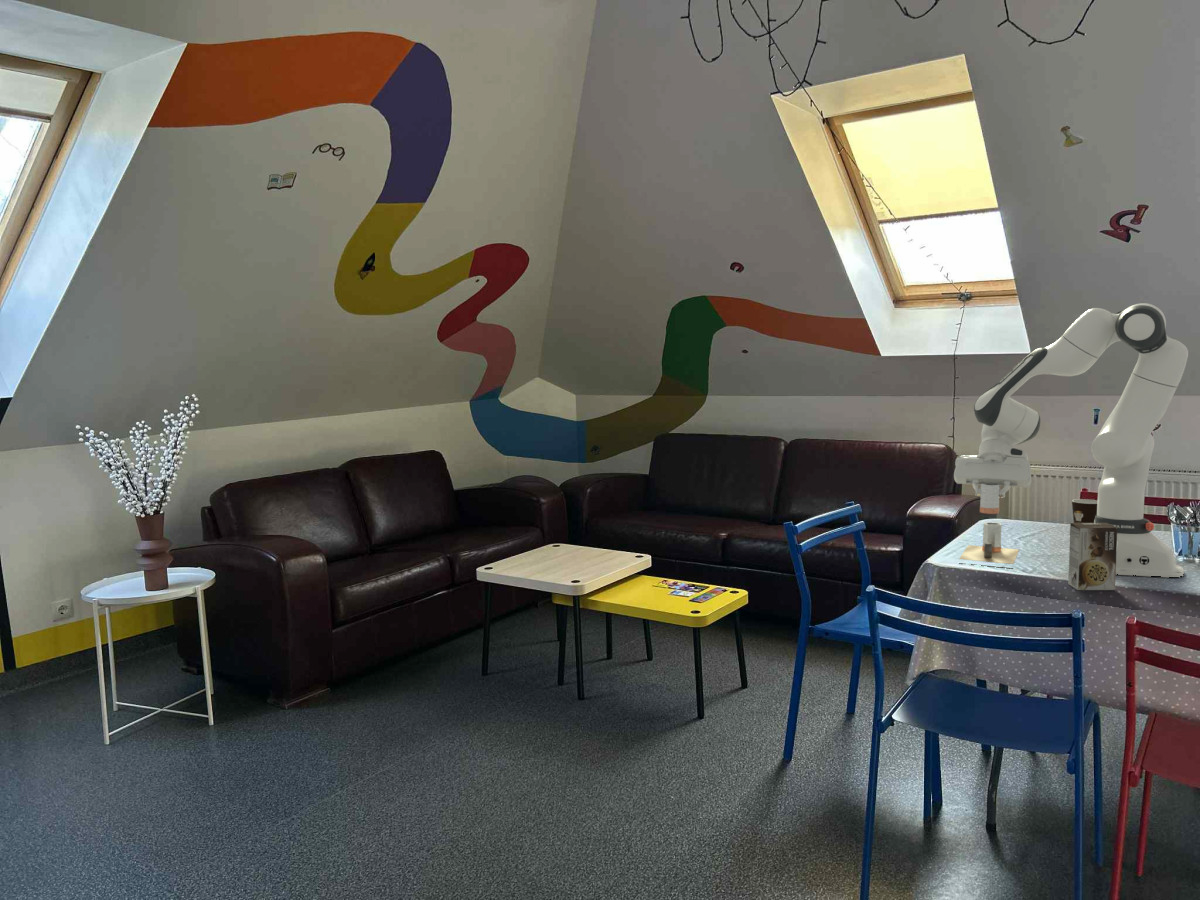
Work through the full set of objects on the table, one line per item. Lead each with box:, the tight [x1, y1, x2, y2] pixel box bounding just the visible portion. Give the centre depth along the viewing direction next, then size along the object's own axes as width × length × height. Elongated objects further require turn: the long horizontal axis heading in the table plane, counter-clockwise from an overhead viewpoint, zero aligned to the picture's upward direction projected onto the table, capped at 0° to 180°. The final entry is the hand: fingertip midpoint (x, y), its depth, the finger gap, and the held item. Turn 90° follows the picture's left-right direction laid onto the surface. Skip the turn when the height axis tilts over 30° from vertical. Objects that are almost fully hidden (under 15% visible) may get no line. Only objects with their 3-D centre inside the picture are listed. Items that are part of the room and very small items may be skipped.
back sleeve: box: [981, 521, 1002, 553], centre depth 265 cm, size 5×5×8 cm
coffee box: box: [1067, 522, 1117, 591], centre depth 229 cm, size 9×6×16 cm
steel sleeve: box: [979, 483, 1001, 515], centre depth 255 cm, size 5×5×8 cm
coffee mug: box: [1071, 498, 1098, 523], centre depth 296 cm, size 12×9×10 cm
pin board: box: [958, 543, 1020, 570], centre depth 261 cm, size 14×20×6 cm
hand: (989, 495), depth 255 cm, fingers closed on steel sleeve, 5 cm apart
